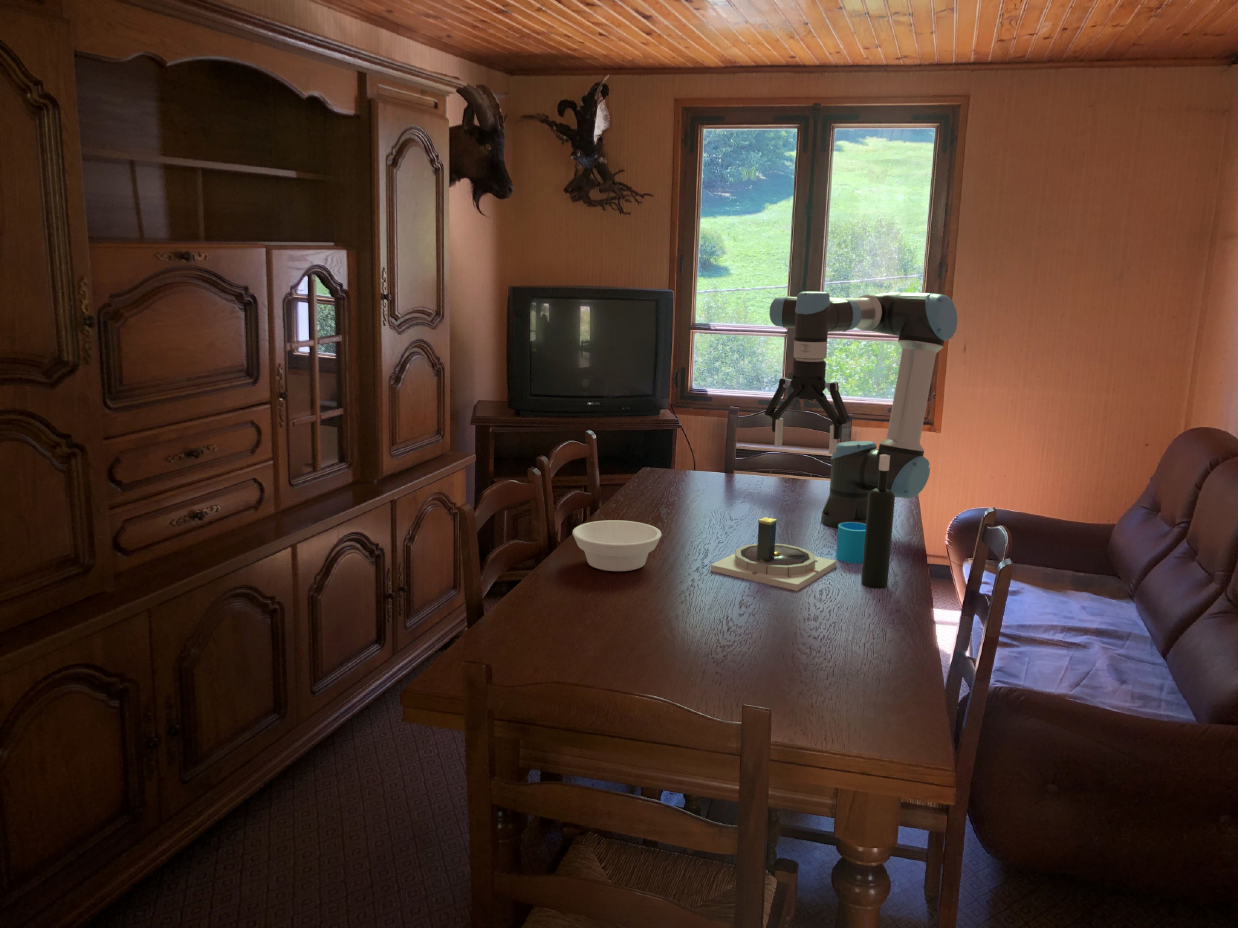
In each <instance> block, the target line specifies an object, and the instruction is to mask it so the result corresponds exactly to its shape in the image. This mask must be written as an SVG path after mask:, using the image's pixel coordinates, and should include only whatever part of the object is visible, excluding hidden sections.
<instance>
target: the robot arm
mask: <svg viewBox="0 0 1238 928" xmlns="http://www.w3.org/2000/svg"><path fill="white" fill-rule="evenodd" d="M768 314H769V319H770V322H771V323H772V324H773V325H774V326H775V327H781V328H783V329H786V328H788V329H789V328H790V329H794V341H793V358H794V360H793V361H792V379H789V378H788V377H781V378H780V379H779V380H778V387H777V389H776V391H775V393H774V394H773V396H772V397H771V400H770V402H769V404H768V406H767V408H766V409H765V411H764V414H765V416H768V417H770V418H771V419H772V420H771V421H772V422H771V431H772V432H773V433H774V447H776V448H777V447H780V446H783V433H784V418H783V417H782V415H783V414H784V413H785V412H786V411H787V410H788V409H789V408H790V407H791V406H792V404H793V403H794V402H796V400H797V399H798V398H799V400H807V401H814V400H815V401H816V402H817V403H818V404H819V405H820V407H821V408H822V409H823V411H824V412H825V414H826V415H827V417H828V418H829V419H830V421H831V423H832V425H829V441H828V442H829V443H828V444H829V445H828V454H829V455H830V454H831V458H830V460H831V466H830V481H829V492H828V493H829V494H828V498H827V499H826V502H825V504H824V507H823V508H822V511H821V518H820V520H821V523H823V524H824V525H826V526H829V527H833V528H837V529H838V525H839V524H840V523H845V522H856V523H863V524H866V518H867V505H868V495H869V493H870V491H871V490H873V489H875V488H878V478H879V460H880V455H882V454H886V455H890V462H889V471H888V481H887V489H889V490H891V491H892V492H893V493H894V495H895V498H902V499H908V500H909V499H913V498H915V497H917V496H918V495H919V494H920V493H921V492H922V491H923V490H924V488H925V486H926V485H927V483H928V480H929V477H930V472H931V467H930V461H929V459H928V458H927V457H925V456H924V454H925V449H924V447H923V446H922V445H921V439H922V432H923V428H924V427H923V426H924V421H925V415H926V411H927V405H928V404H927V403H928V398H929V396H930V395H929V394H930V389H931V388H930V387H931V383H932V378H933V372H934V366H935V360H936V356H937V354H938V352H940V351H941V350H942V349H944V345H945V342H946V341H948V340H952V338H953V337H954V334H955V333H956V331H957V326H958V312H957V308H956V306H955V303H954V302H953V300H952V299H951V298H950V297H949V296H948V295H946V294H941V293H934V292H933V293H932V292H901V291H895V292H893V291H892V292H885V293H883V292H882V293H877V294H876V293H875V294H863V295H860V296H859V297H855V298H853V297H831V295H830V294H829V292H827V291H801V292H799V293H798V294H797V295H796V296H790V295H789V296H788V295H786V296H777V297H776V298H774V299H773V300H772V302H771V304H770V306H769V313H768ZM855 328H856V329H857V330H859V331H863V332H875V333H880V334H884V335H889V336H895V337H898V339H897V343H898V345H900V347H901V350H902V351H901V357H900V361H899V367H898V372H897V379H896V383H895V390H894V395H893V400H892V406H891V410H890V411H891V412H890V415H889V416H890V417H889V423H888V427H887V434H886V438H884V439H883V440H882V441H880V442H879V445H878V446H877V443H876V442H875V441H871V440H853V441H852V440H851V441H843V442H837V441H838V440H840V439H841V437H842V427H843V426H842V425H846V424H848V423H850V421H851V418H850V416H849V413H848V411H847V408H846V406H845V403H844V401H843V398H842V395H841V394H840V388H839V387H840V386H839V382H838V381H834V382H826V374H827V373H826V370H827V362H826V360H825V359H826V358H827V354H828V353H827V352H828V351H827V350H828V334H829V333H832V332H833V333H834V332H836V333H837V332H843V333H845V332H848V331H851V330H854V329H855ZM789 387H791V388H792V390H793V391H792V392H791V393H790V394H789V395H788V396H787V398H786V399H785V401H784V402H783V403H782V404H780V406H779V407H778V405H779V403H780V402H781V400H782V398H783V396H784V395H785V393H786V390H787V389H788V388H789ZM826 389H827V391H828V392H829V394H830V397H831V400H832V402H833V404H834V407H833V406H832V404H831V403H830V401H829V399H828V398H827V396H826V393H824V391H825V390H826ZM777 407H778V408H777ZM835 409H836V410H835ZM781 417H782V418H781ZM877 447H878V448H877Z"/></svg>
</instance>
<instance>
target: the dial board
mask: <svg viewBox="0 0 1238 928" xmlns="http://www.w3.org/2000/svg"><path fill="white" fill-rule="evenodd" d="M757 545H758V543H753V544H752V543H751V544H744V545H743V546H740V547H738V548H736V549H735V552H734V553H733V554H731V555H728V556H727V557H724V558H722V559H720V560H718V561H716V562H714V563H712V564H711V565H710V572H714V573H717V574H721V575H727V576H731V577H736V578H741V579H744V580H747V581H752V582H757V583H762V584H765V585H770V586H776V587H778V588H784V589H787V590H793V591H797V592H798V591H799V590H801V589H803V588H804V587H806V586H807V585H809V584H810V583H813V582H814V581H816V580H817V579H818V578H821V577H822V576H823V575H825V574H827V573H828V572H830V571H832V570H834V569H836V567H837V560H835V559H832V558H831V559H830V558H825V557H821V556H820V557H819V556H815V555H814V552H811V551H809V550H807V549H804V548H803V547H799V546H794V545H789V544H785V543H775V546H778V547H785V548H790V549H794V550H797V551H799V552H801V553H803V554H804V555H805V562H804V563H802V564H795V565H787V566H786V565H767V564H763V563H758V562H754V561H750V560H748V559H746V558H745V552H746V550H748V549H750V548H753V547H757Z"/></svg>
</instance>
